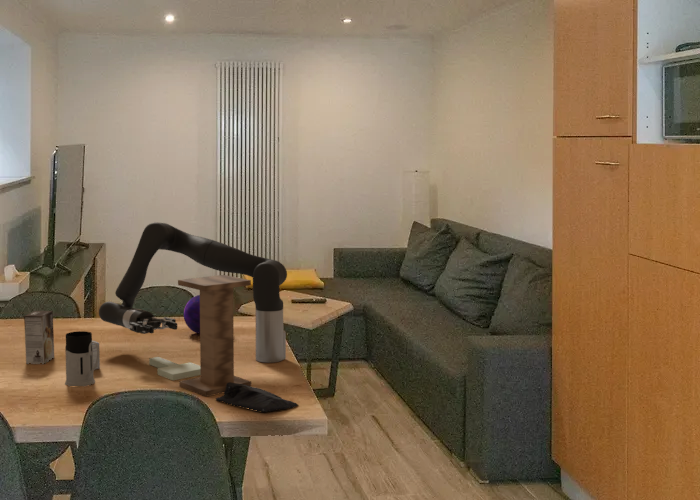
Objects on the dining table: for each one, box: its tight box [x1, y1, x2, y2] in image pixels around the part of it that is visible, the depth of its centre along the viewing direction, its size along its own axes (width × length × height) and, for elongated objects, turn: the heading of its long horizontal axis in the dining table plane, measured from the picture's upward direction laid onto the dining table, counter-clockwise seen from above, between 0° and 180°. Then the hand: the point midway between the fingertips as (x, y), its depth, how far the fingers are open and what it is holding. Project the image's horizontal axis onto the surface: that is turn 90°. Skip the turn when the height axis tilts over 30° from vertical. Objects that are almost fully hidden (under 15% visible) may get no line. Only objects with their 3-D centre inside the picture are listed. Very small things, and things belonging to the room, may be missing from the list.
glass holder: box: [64, 330, 100, 387], centre depth 262 cm, size 9×14×15 cm, turn 51°
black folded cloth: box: [215, 382, 299, 413], centre depth 246 cm, size 15×22×5 cm
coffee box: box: [23, 310, 55, 365], centre depth 289 cm, size 9×6×16 cm
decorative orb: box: [183, 294, 200, 335], centre depth 332 cm, size 15×15×15 cm
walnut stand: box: [177, 274, 252, 397], centre depth 260 cm, size 16×14×32 cm
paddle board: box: [148, 356, 201, 381], centre depth 280 cm, size 12×22×2 cm, turn 43°
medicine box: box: [92, 340, 101, 370], centre depth 279 cm, size 8×4×9 cm, turn 130°
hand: (164, 328), depth 281 cm, fingers open, 8 cm apart
